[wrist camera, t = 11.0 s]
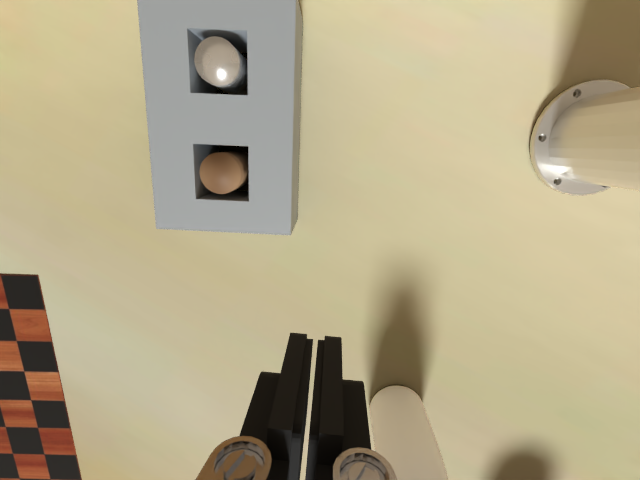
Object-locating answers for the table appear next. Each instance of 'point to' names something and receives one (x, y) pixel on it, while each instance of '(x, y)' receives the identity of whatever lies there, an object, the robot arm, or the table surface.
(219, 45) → the steel peg
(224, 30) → the socket board
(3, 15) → the table surface
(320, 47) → the table surface
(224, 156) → the brown rounded cylinder
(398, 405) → the milk bottle
